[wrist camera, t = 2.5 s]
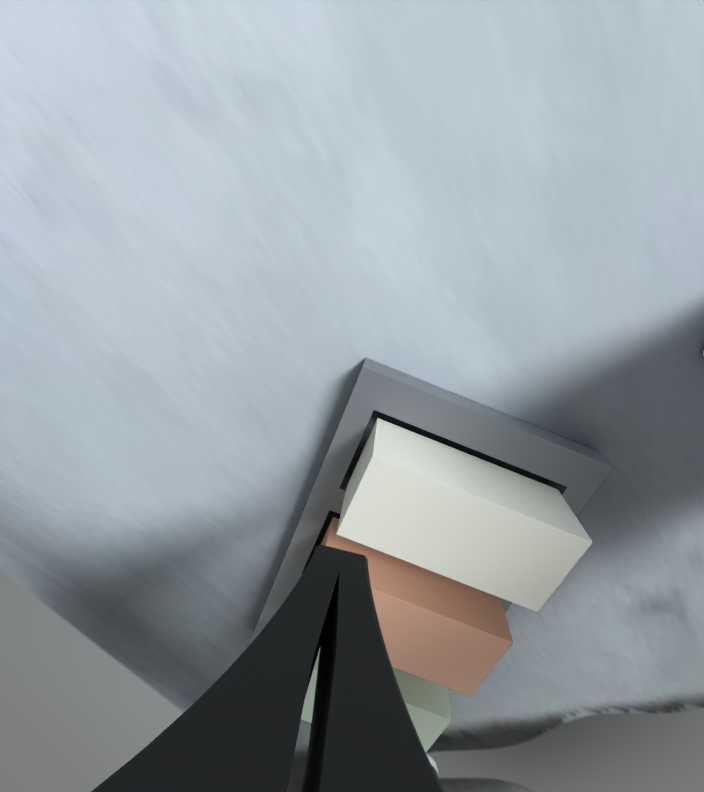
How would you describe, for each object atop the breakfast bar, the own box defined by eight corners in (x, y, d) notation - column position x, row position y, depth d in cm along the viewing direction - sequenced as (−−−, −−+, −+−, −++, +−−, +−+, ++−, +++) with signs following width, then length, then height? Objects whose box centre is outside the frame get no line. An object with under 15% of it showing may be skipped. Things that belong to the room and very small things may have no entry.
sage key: (443, 652, 23) (451, 720, 19) (415, 693, 24) (417, 762, 21) (297, 596, 22) (280, 655, 19) (277, 641, 24) (257, 703, 21)
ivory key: (558, 489, 18) (592, 542, 15) (514, 551, 20) (537, 612, 16) (377, 417, 18) (372, 455, 15) (346, 486, 19) (336, 534, 16)
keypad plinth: (597, 451, 19) (613, 467, 18) (422, 695, 26) (424, 720, 25) (365, 357, 19) (363, 366, 17) (253, 631, 26) (245, 652, 24)
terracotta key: (494, 579, 20) (513, 642, 17) (459, 629, 22) (470, 696, 19) (333, 516, 20) (320, 568, 17) (308, 571, 22) (292, 628, 18)
